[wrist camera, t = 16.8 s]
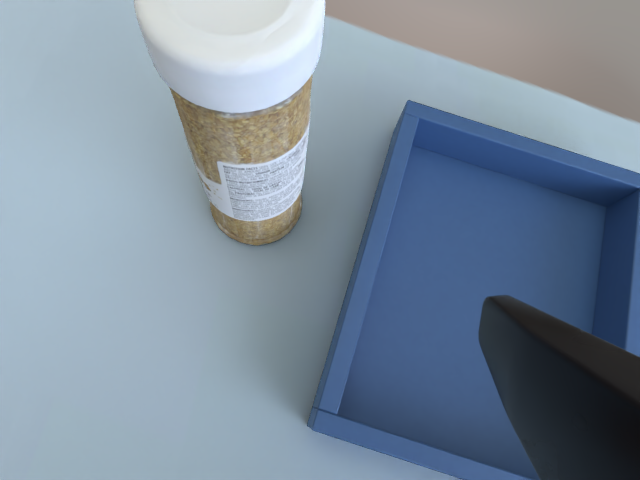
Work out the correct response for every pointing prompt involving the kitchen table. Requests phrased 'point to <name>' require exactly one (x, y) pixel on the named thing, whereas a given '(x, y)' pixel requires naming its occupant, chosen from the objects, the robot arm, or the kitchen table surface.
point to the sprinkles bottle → (241, 101)
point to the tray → (471, 286)
